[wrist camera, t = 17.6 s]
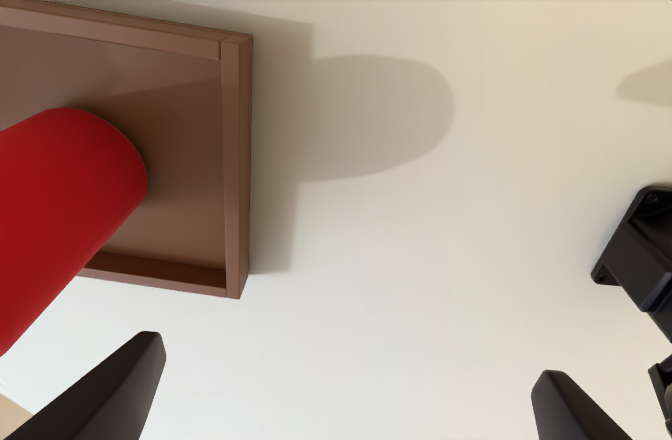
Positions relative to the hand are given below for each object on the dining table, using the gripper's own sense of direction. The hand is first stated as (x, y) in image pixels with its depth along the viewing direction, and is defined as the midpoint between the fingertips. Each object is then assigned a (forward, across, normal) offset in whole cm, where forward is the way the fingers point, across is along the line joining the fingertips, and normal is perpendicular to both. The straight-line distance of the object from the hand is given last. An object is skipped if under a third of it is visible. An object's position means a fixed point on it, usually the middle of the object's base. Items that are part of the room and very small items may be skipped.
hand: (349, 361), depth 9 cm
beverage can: (+13, +14, +2) cm, 19 cm away
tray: (+13, +14, +2) cm, 19 cm away
